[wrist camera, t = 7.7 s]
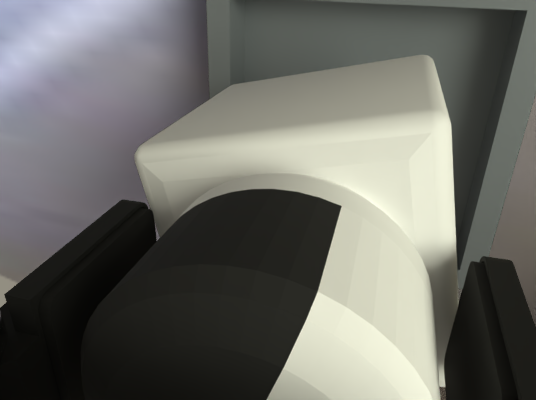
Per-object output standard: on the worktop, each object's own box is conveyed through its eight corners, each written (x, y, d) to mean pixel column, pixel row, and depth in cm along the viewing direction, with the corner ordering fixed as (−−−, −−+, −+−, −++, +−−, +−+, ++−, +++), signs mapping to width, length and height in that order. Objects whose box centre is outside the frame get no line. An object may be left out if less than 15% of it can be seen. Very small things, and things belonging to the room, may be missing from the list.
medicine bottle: (265, 250, 20) (108, 561, 9) (227, 83, 17) (-57, 265, 7) (443, 244, 17) (496, 648, 7) (433, 50, 15) (496, 250, 4)
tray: (546, -22, 18) (568, -21, 15) (471, 256, 24) (478, 292, 21) (230, -32, 21) (205, -32, 18) (233, 218, 27) (214, 245, 24)
